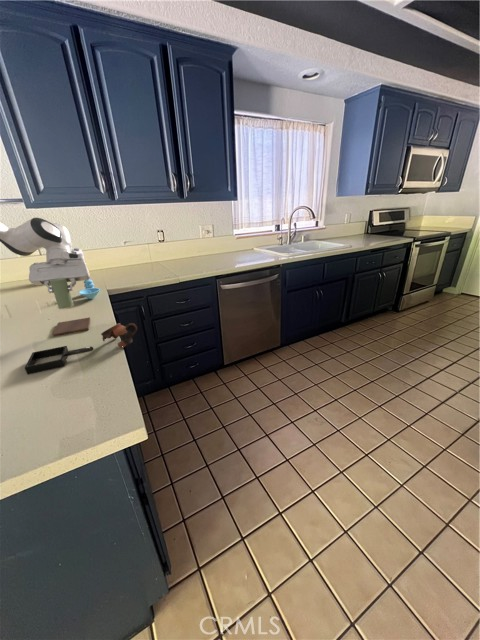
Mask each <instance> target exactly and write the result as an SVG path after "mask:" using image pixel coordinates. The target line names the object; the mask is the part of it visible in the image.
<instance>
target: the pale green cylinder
mask: <svg viewBox="0 0 480 640" xmlns="http://www.w3.org/2000/svg"><path fill="white" fill-rule="evenodd" d="M50 283H51V286H50V287H52V289H53V292H54V293H53V295H54V299H55V301H56V305H57V307H58V309H62V310H63V309H69V308H71V307H74V301H73V298H72V294H71V291H69V290H68V285H69V284H68V282H67V281H66V278H56V279H51V280H50Z"/></svg>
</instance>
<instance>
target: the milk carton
mask: <svg viewBox="0 0 480 640" xmlns="http://www.w3.org/2000/svg"><path fill="white" fill-rule="evenodd" d="M71 252H72V253H75V254H80V255H81V256H82V257H83V258H84V260H85V261H86V259H85V255H84V251H83V249H80V248H78V247H72V249H71Z"/></svg>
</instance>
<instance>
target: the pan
mask: <svg viewBox="0 0 480 640" xmlns="http://www.w3.org/2000/svg"><path fill="white" fill-rule="evenodd" d="M94 349H95V348H94V346H86V347H81V348H77V349H76V348H75V349H72V350H69V349H68V345H64V346H58V347H53V348H47V349H44V350H43V349H42V350H38V351H33V352H32V353H31V355H30V356H29V358H28V360H27V362H26V364H25V366H24V370H25V372H26V374H27V375H32V374H37V373H42V372H45V371H46V372H47V371H50V370H54V369H59V368H64V367H66V364H65V363H67V360H68V357H70V356H74V355H80V354H85V353H89V352H93V351H94ZM60 355H61V357H60V359H56V360H50V361H46V362H41V363H36V362H37V360H39V359H40V358H41V359H45V358H50V357H54V356H60ZM49 356H50V357H49ZM44 357H45V358H44ZM66 359H67V360H66ZM35 361H36V362H35Z"/></svg>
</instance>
